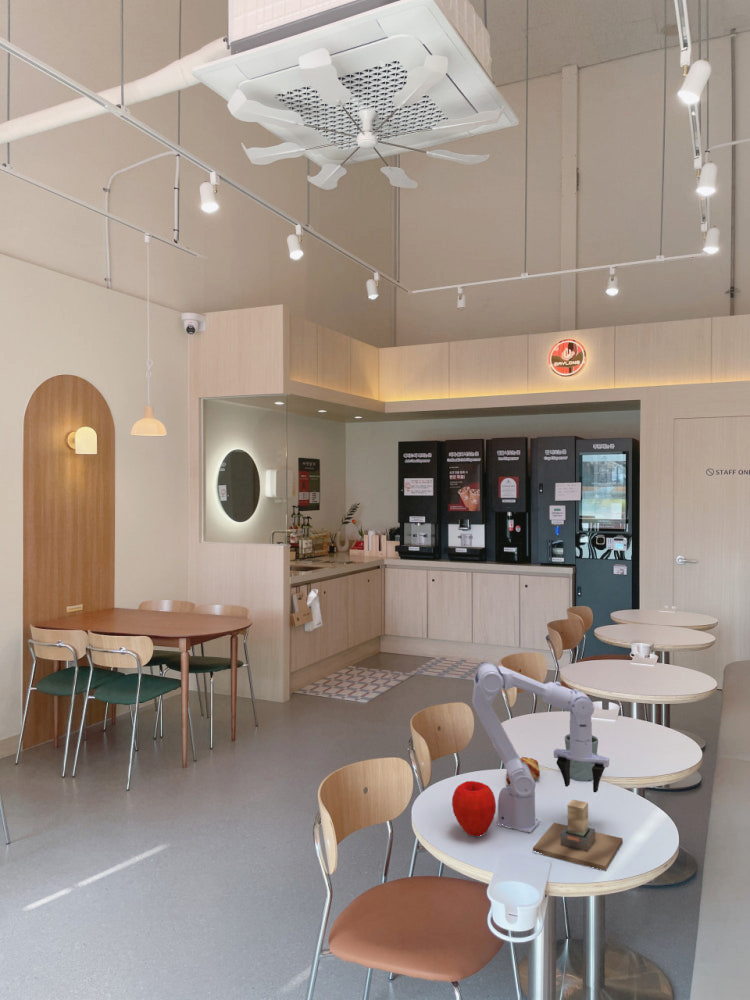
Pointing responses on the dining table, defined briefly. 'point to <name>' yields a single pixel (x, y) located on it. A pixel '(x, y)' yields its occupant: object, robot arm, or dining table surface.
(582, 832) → the post
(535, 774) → the croissant
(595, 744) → the green cup
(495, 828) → the dining table surface
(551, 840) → the board
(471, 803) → the apple
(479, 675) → the robot arm
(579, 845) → the sleeve
